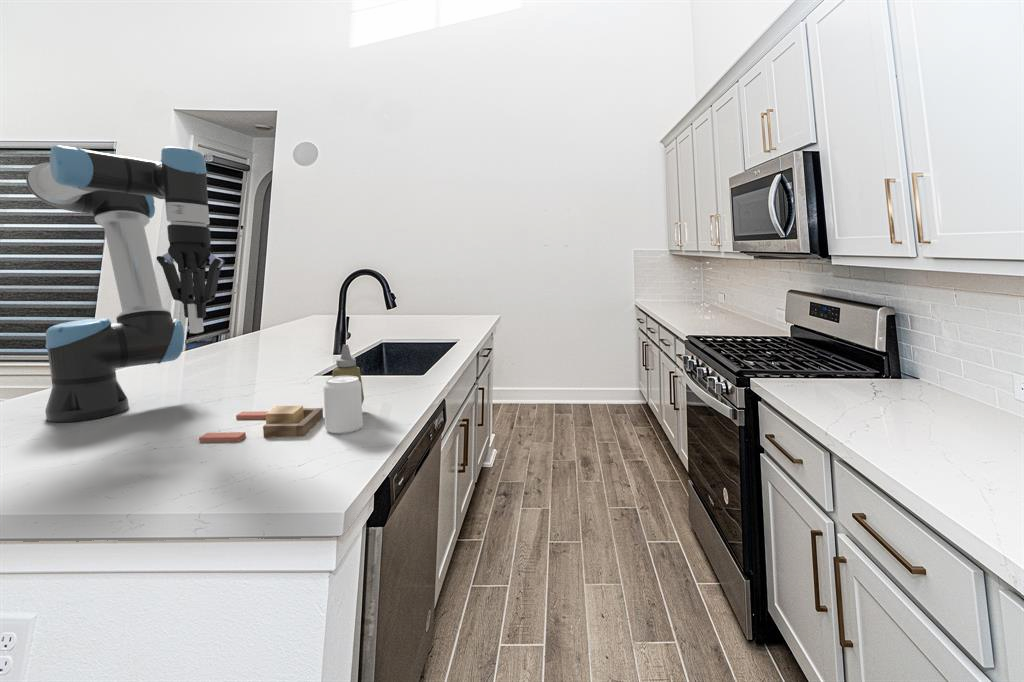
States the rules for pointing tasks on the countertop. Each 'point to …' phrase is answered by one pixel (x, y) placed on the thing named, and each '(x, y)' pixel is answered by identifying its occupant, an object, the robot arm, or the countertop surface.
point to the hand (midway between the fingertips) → (196, 332)
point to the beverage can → (342, 404)
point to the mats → (232, 435)
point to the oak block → (285, 415)
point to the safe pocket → (295, 425)
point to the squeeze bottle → (347, 367)
